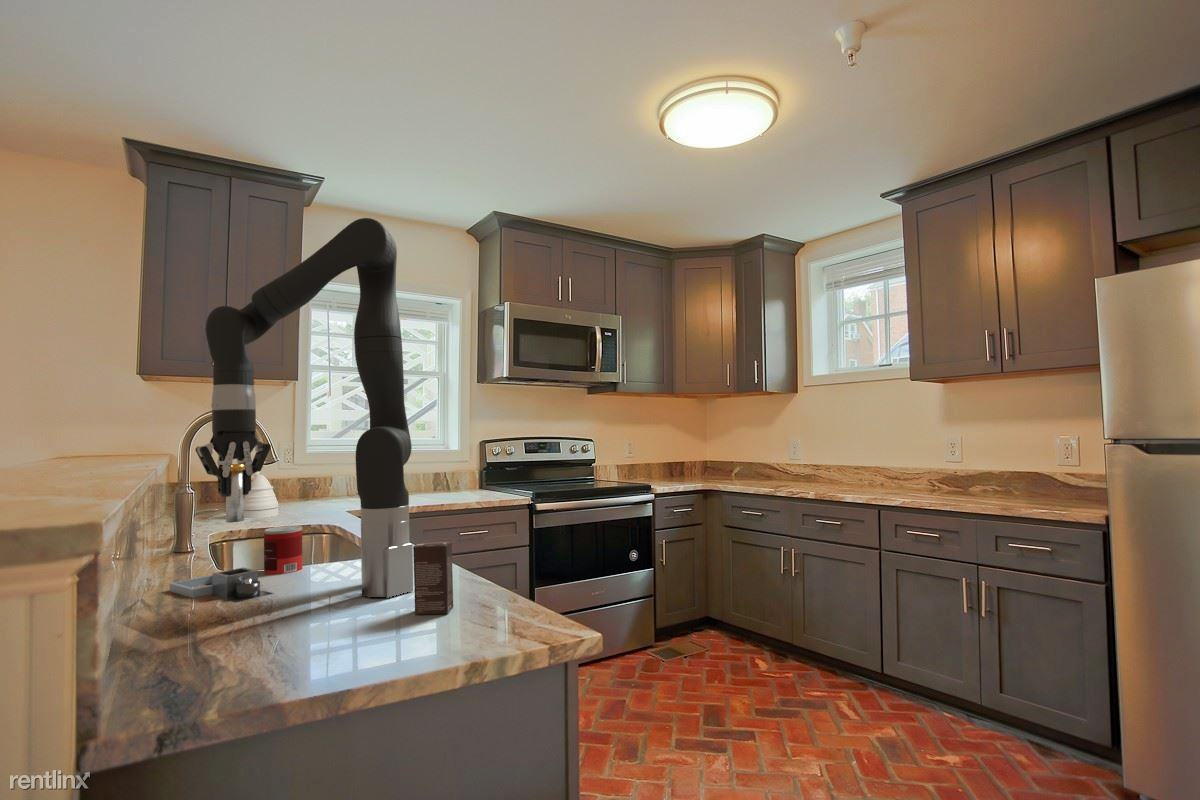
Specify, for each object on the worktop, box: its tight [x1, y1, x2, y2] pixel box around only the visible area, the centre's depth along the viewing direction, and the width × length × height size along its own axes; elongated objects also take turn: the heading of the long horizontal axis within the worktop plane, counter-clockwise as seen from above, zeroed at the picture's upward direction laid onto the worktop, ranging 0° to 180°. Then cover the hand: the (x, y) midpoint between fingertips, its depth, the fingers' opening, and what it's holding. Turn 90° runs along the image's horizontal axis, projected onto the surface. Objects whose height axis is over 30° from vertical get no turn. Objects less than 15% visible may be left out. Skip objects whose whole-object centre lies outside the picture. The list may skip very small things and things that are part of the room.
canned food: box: [263, 525, 303, 576], centre depth 142 cm, size 8×8×11 cm
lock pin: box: [225, 463, 245, 523], centre depth 124 cm, size 4×4×11 cm
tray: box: [169, 574, 213, 599], centre depth 126 cm, size 10×8×3 cm
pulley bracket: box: [208, 567, 274, 603], centre depth 122 cm, size 11×7×6 cm, turn 55°
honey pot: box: [244, 471, 280, 518], centre depth 247 cm, size 13×13×18 cm
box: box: [413, 541, 454, 616], centre depth 112 cm, size 6×4×12 cm
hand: (235, 495), depth 124 cm, fingers closed on lock pin, 3 cm apart
